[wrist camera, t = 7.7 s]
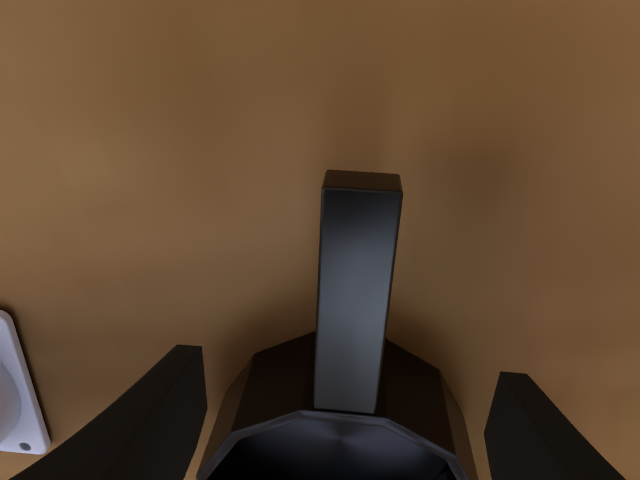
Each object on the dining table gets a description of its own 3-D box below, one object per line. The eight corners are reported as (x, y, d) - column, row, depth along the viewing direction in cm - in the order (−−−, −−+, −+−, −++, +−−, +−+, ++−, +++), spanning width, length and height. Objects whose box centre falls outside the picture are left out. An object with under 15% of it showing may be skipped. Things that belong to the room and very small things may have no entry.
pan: (440, 512, 23) (454, 608, 19) (231, 490, 23) (207, 579, 20) (525, 155, 15) (575, 204, 11) (207, 136, 15) (159, 177, 12)
